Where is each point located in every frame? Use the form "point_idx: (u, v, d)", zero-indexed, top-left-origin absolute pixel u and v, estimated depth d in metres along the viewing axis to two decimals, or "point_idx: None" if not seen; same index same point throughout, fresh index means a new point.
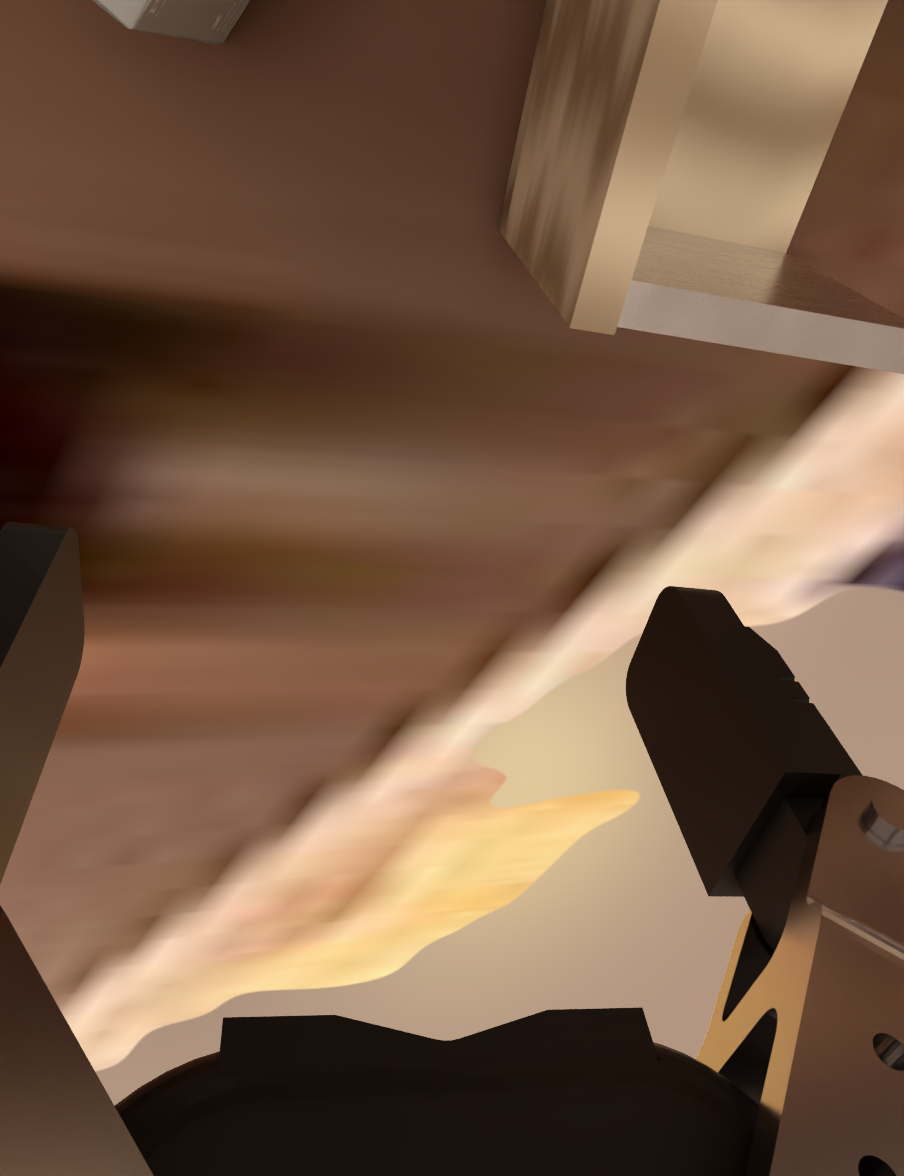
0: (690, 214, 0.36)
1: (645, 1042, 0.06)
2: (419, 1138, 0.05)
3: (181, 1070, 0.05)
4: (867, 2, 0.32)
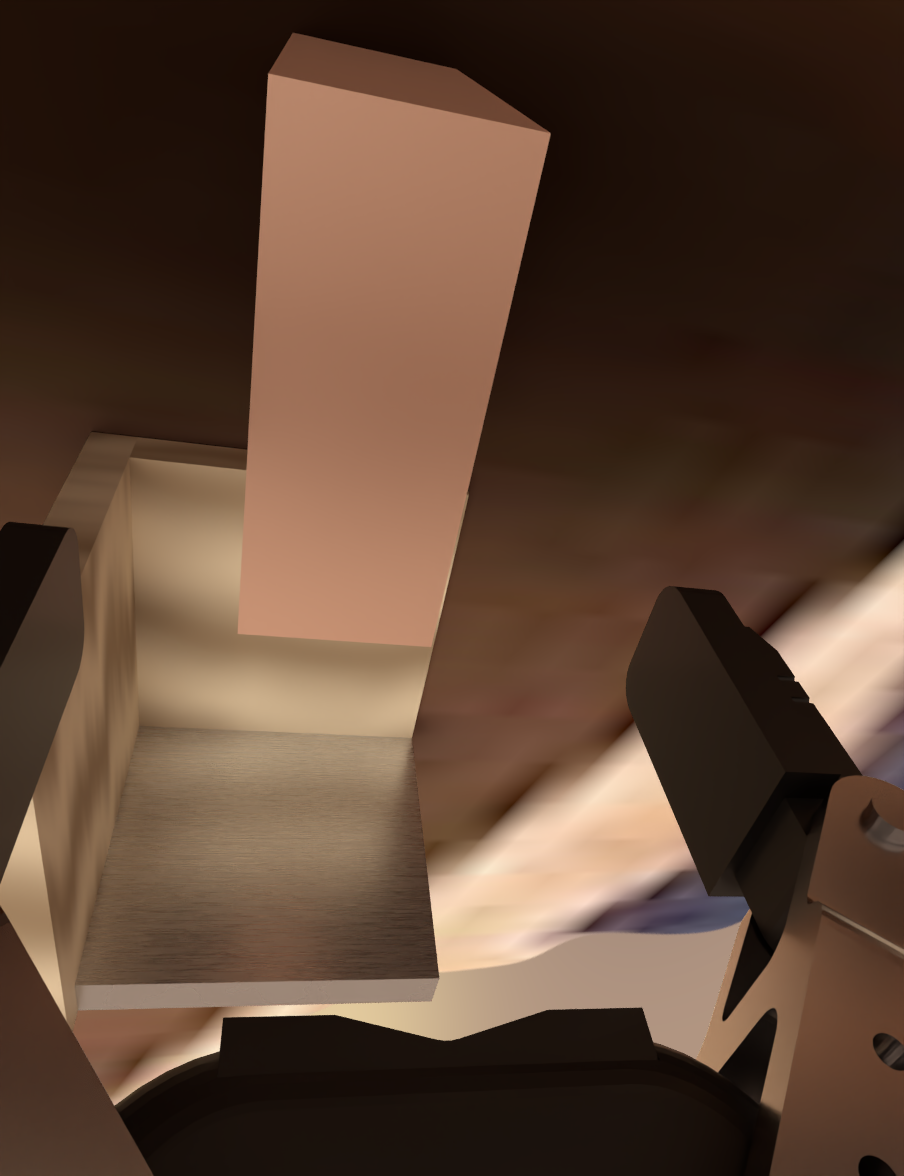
0: (298, 720, 0.35)
1: (645, 1042, 0.06)
2: (419, 1138, 0.05)
3: (181, 1070, 0.05)
4: None
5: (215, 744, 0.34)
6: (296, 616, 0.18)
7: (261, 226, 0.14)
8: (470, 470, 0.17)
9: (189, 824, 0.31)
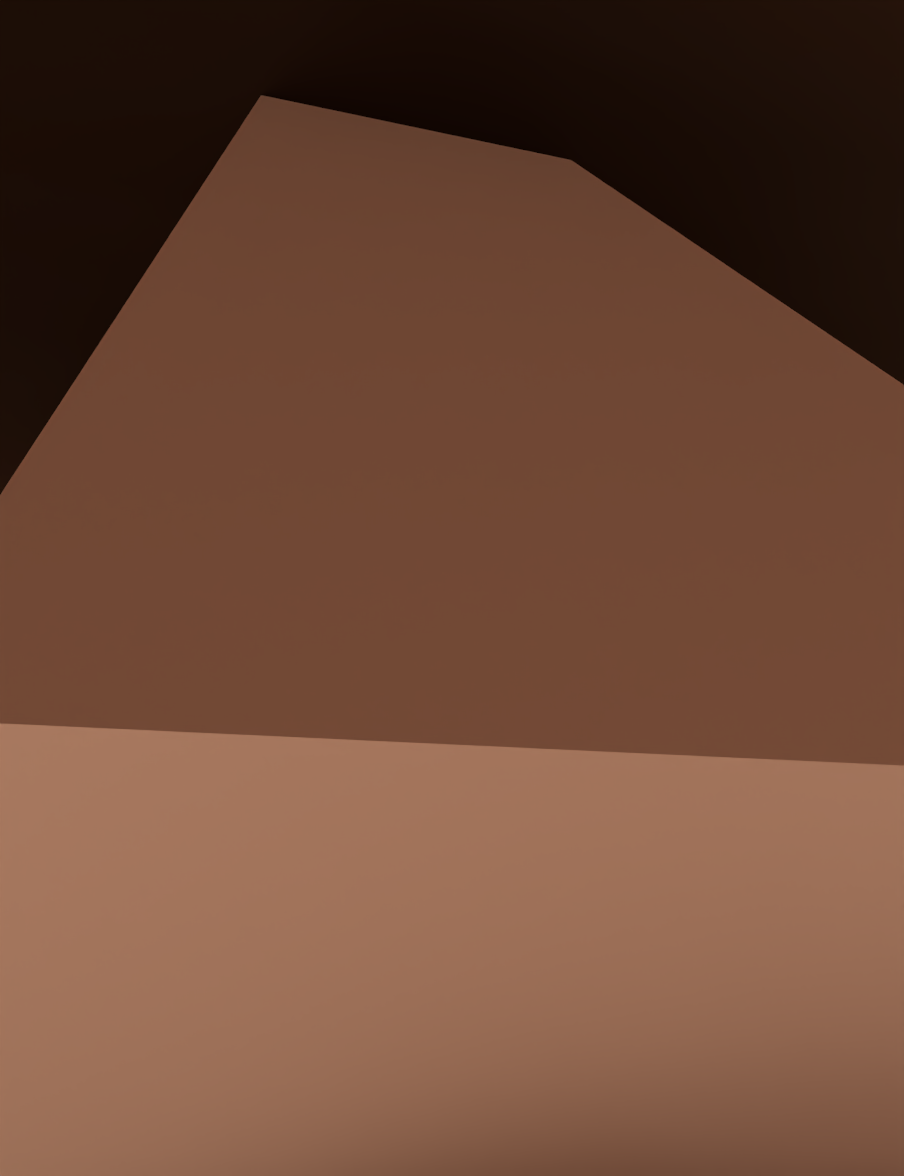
0: None
1: None
2: None
3: None
4: None
5: None
6: None
7: (3, 1174, 0.03)
8: None
9: None
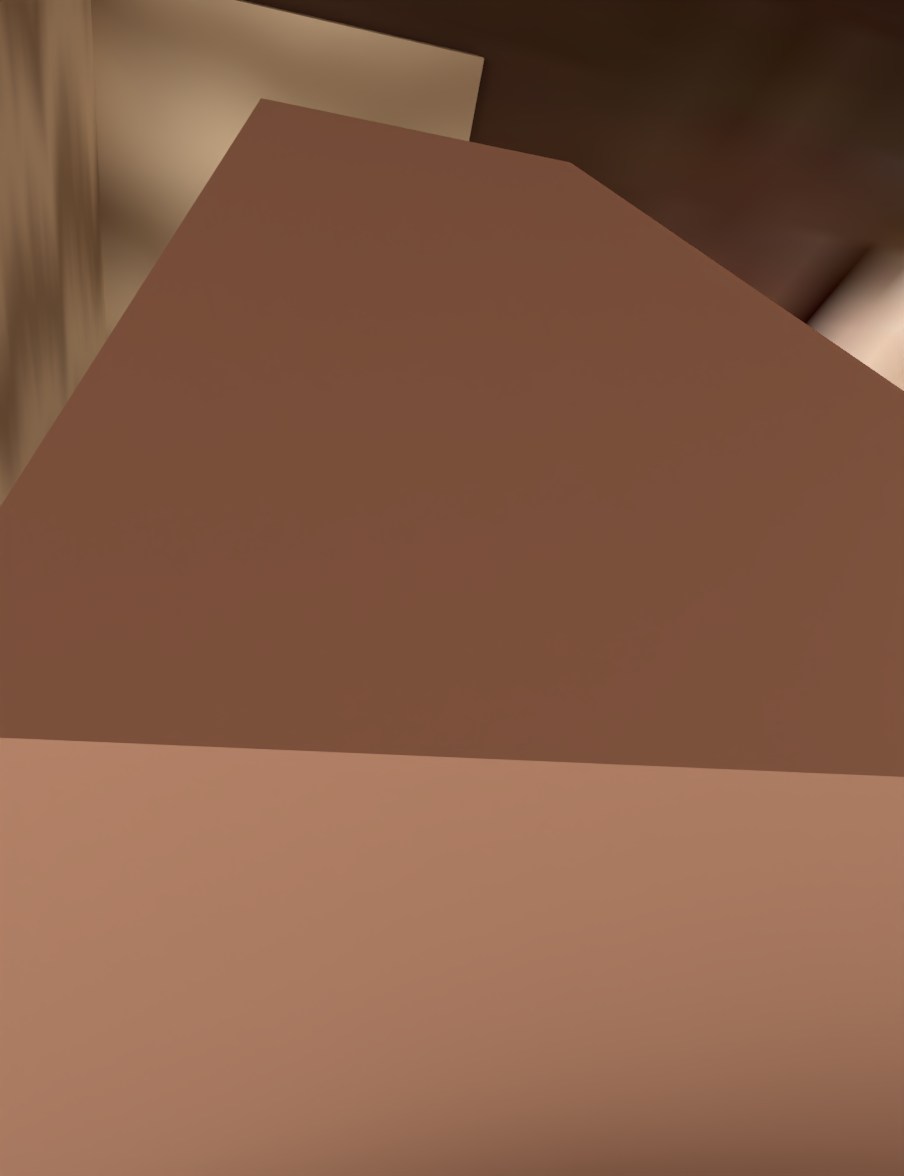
0: None
1: None
2: None
3: None
4: None
5: None
6: None
7: None
8: None
9: None
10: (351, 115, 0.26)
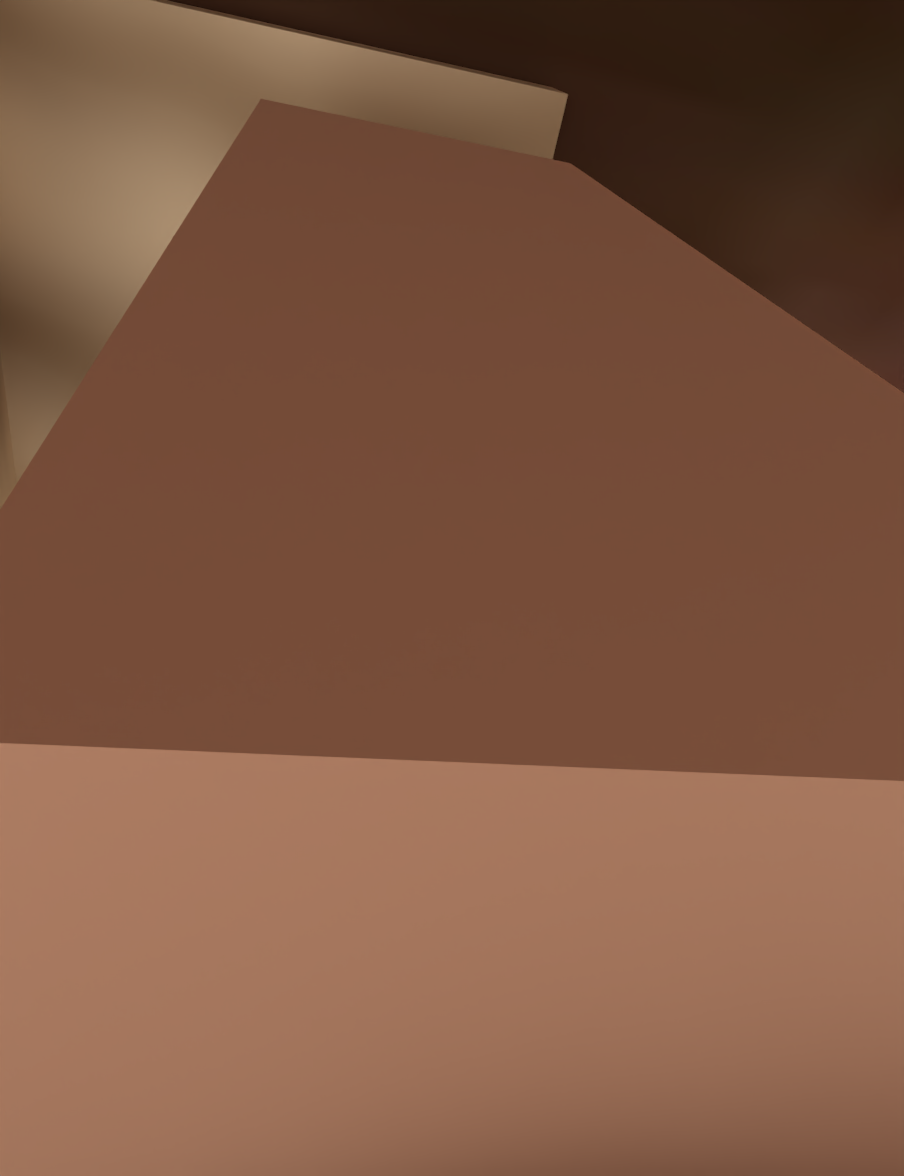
0: None
1: None
2: None
3: None
4: None
5: None
6: None
7: None
8: None
9: None
10: None
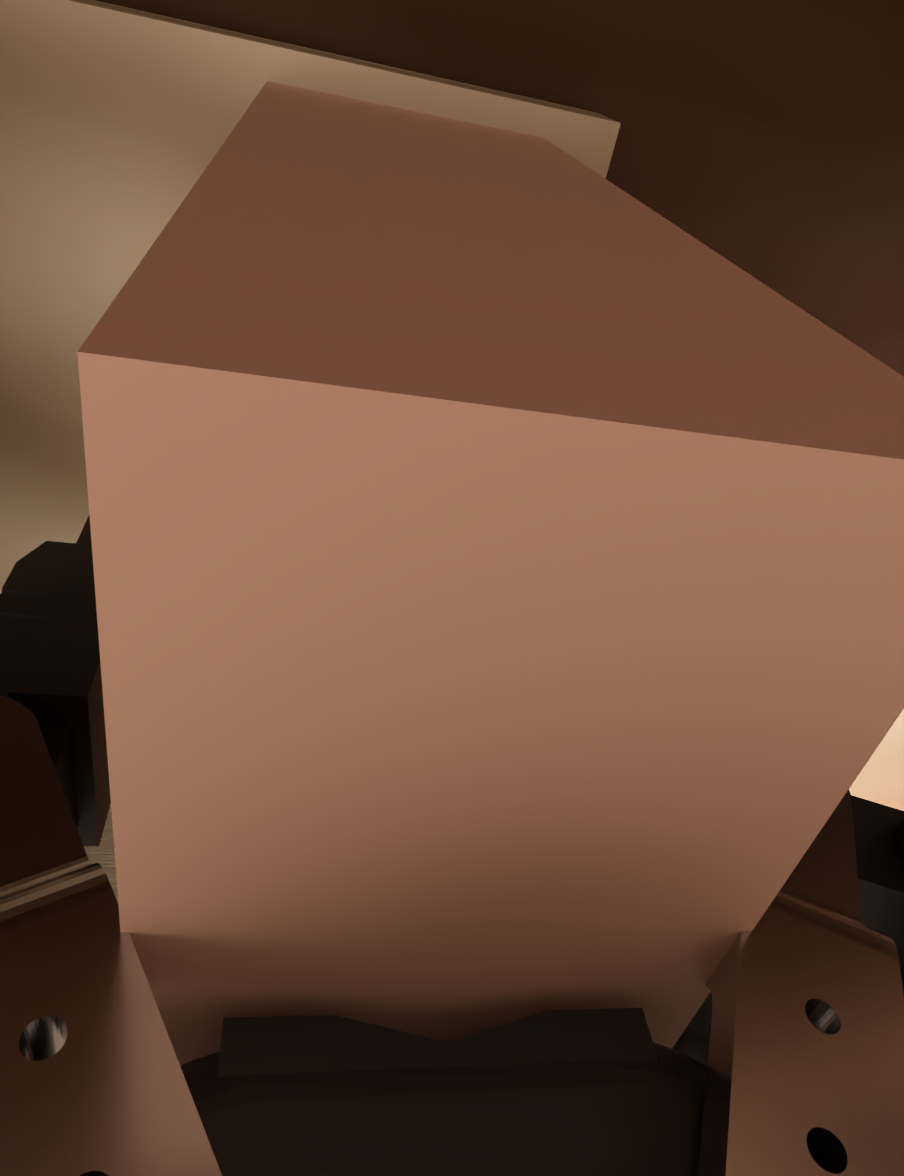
0: None
1: (645, 1042, 0.06)
2: (419, 1138, 0.05)
3: (181, 1070, 0.05)
4: None
5: None
6: None
7: (112, 753, 0.04)
8: None
9: None
10: None
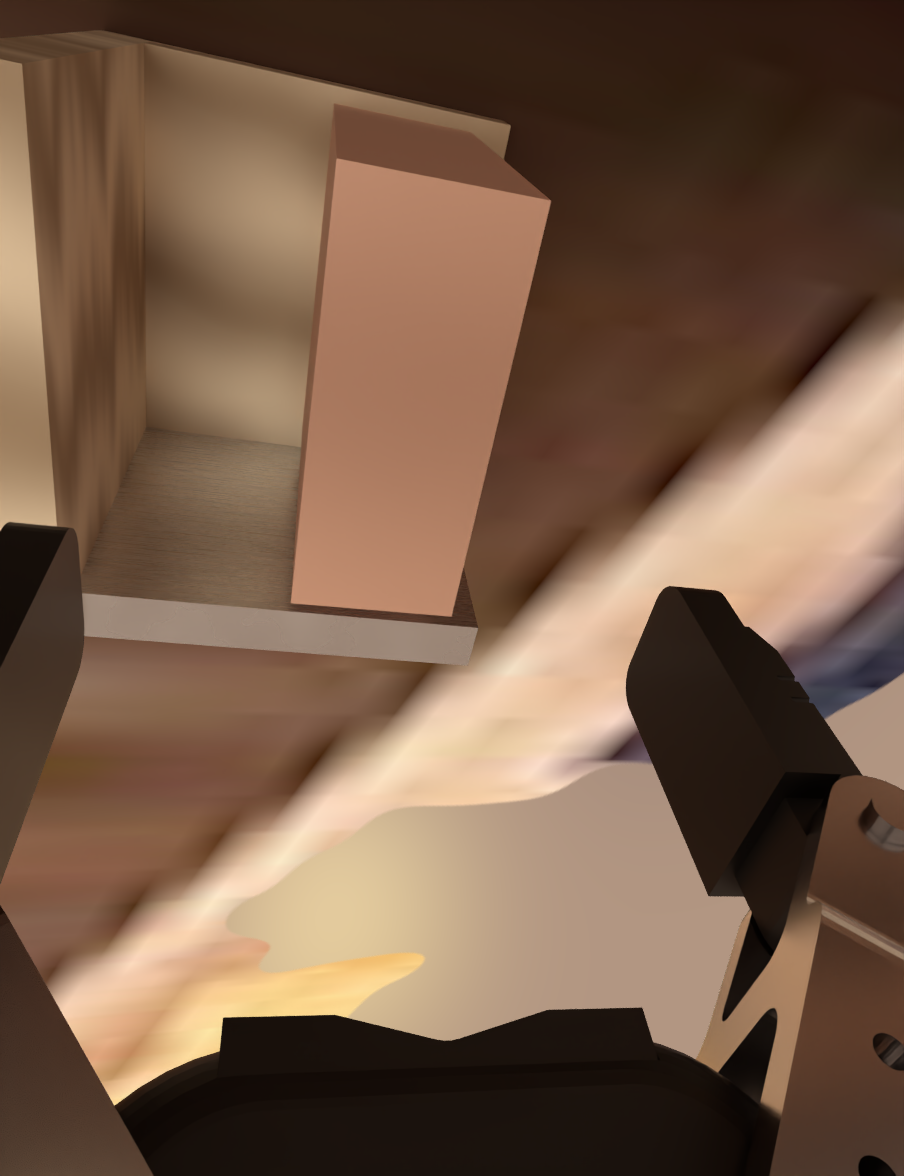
0: None
1: (645, 1042, 0.06)
2: (419, 1138, 0.05)
3: (181, 1070, 0.05)
4: None
5: (228, 447, 0.31)
6: (340, 588, 0.22)
7: (326, 271, 0.17)
8: (486, 465, 0.21)
9: (200, 496, 0.28)
10: None
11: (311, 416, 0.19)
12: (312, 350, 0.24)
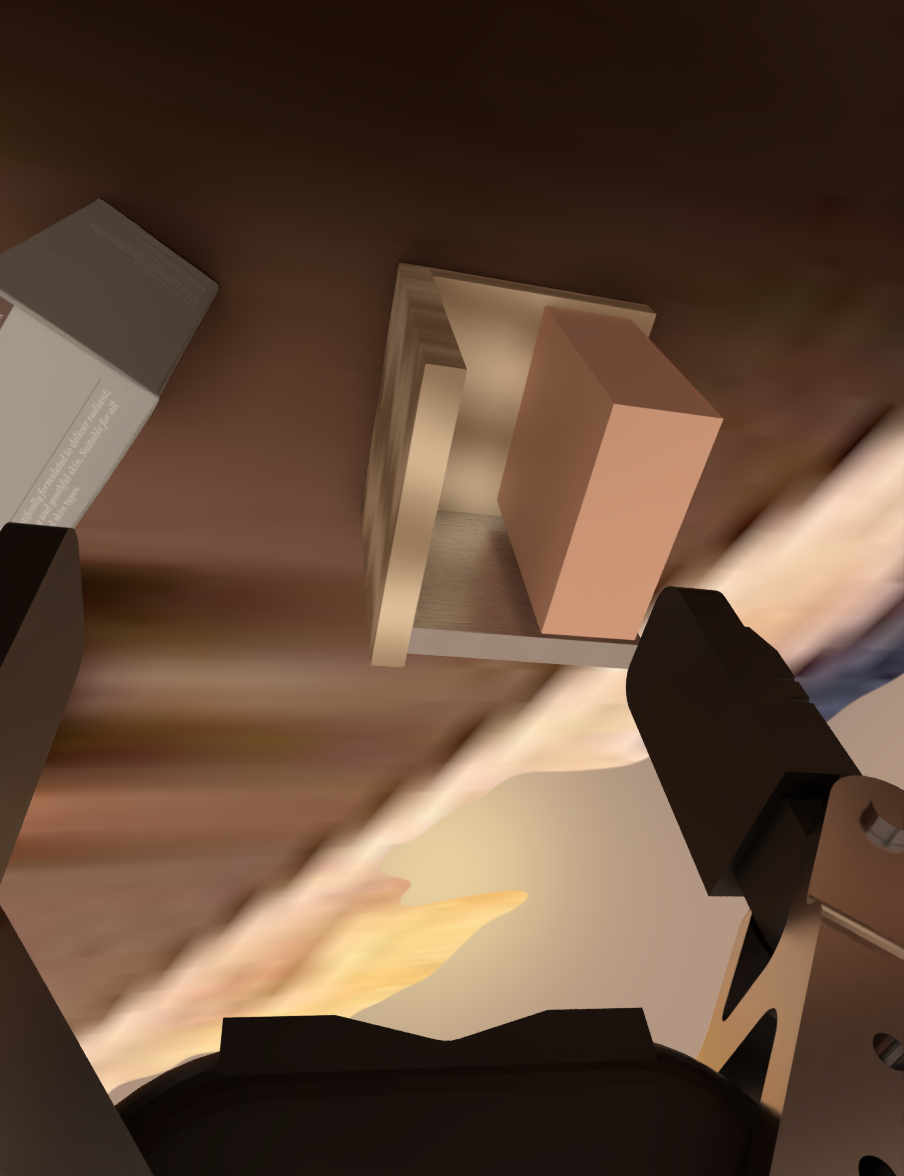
0: None
1: (645, 1042, 0.06)
2: (419, 1138, 0.05)
3: (181, 1070, 0.05)
4: None
5: (448, 518, 0.46)
6: (571, 624, 0.36)
7: (597, 456, 0.32)
8: (668, 553, 0.35)
9: (448, 557, 0.42)
10: None
11: (574, 529, 0.34)
12: (541, 472, 0.38)
